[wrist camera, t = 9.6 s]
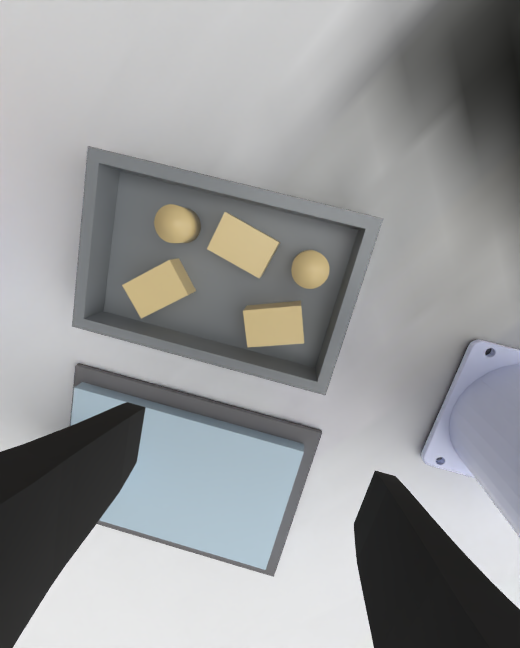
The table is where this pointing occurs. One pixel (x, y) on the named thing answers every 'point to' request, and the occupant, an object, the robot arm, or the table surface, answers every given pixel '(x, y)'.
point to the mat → (221, 413)
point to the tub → (218, 269)
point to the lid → (200, 479)
